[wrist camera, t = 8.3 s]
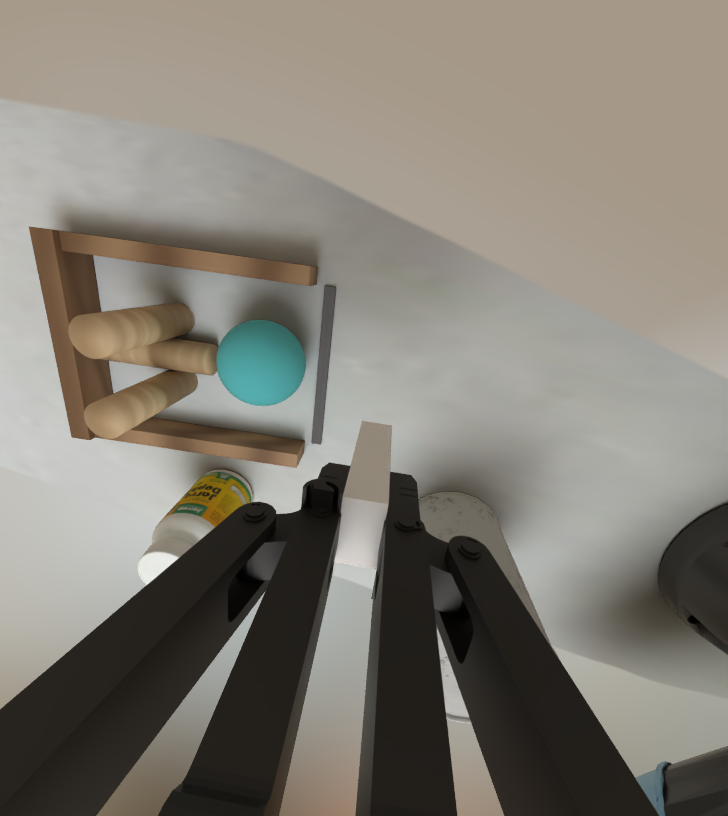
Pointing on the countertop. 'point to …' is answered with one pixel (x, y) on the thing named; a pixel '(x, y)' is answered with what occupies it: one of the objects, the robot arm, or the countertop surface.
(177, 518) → the supplement bottle
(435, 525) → the speckled white cylinder
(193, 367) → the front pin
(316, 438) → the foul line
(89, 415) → the pin
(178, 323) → the pin
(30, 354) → the countertop surface
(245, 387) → the ball
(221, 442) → the frame
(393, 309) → the countertop surface
